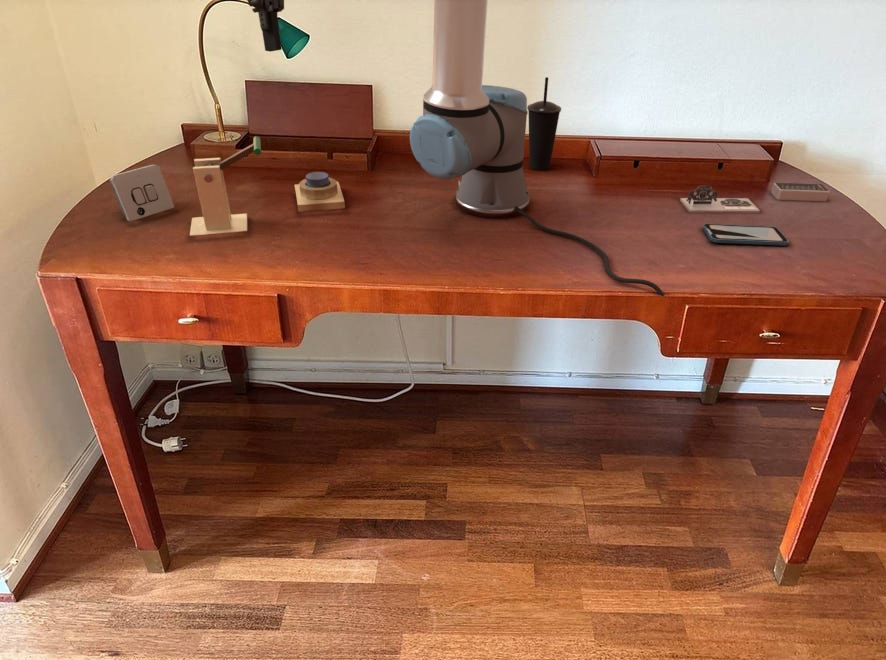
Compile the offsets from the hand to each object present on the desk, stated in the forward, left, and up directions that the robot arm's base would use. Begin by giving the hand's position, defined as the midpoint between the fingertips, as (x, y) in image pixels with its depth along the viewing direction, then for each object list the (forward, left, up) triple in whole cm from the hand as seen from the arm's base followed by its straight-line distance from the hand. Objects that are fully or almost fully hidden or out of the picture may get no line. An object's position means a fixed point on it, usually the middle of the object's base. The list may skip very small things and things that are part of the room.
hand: (273, 50), depth 130 cm
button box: (-11, -1, -28) cm, 30 cm away
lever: (-12, +16, -16) cm, 26 cm away
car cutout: (-62, -67, -28) cm, 95 cm away
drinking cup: (-22, -53, -28) cm, 64 cm away
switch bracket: (-10, +20, -28) cm, 36 cm away
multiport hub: (-70, -86, -28) cm, 114 cm away
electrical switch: (+4, +29, -28) cm, 40 cm away
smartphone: (-74, -57, -28) cm, 97 cm away
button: (-11, -1, -23) cm, 26 cm away
